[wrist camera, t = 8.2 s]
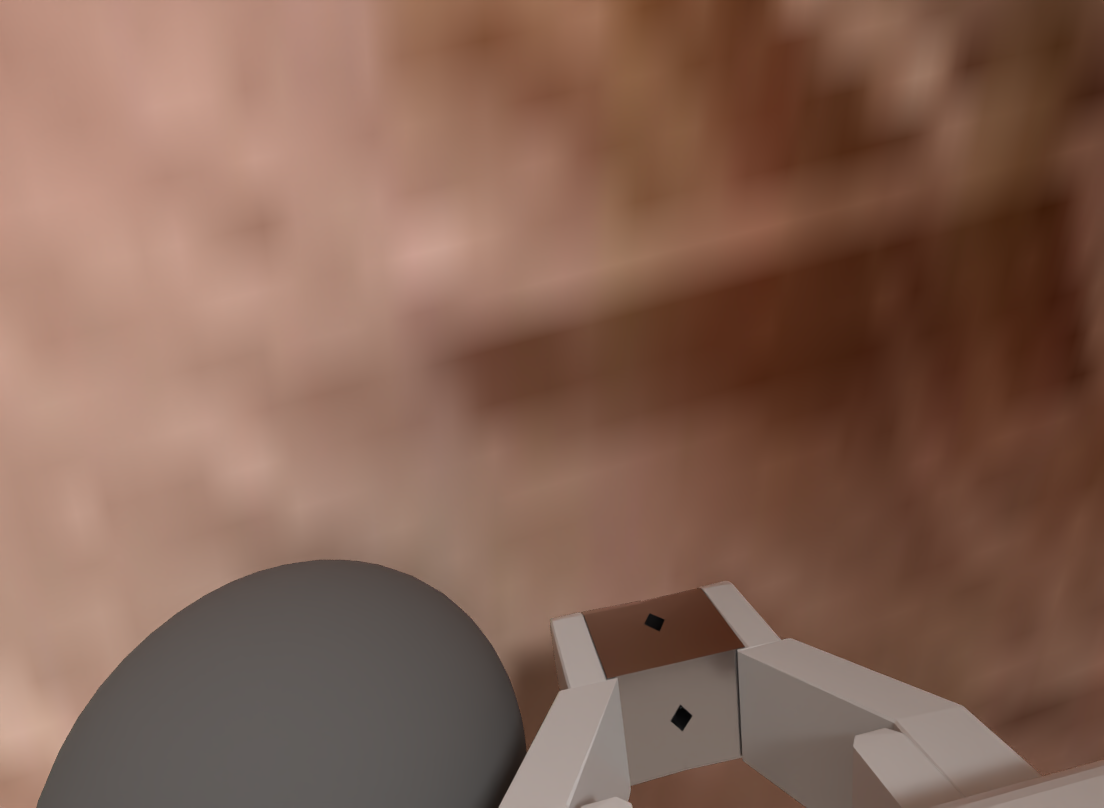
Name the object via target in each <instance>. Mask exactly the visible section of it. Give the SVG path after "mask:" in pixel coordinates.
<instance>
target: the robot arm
mask: <svg viewBox="0 0 1104 808" xmlns="http://www.w3.org/2000/svg"><path fill="white" fill-rule="evenodd" d="M550 630H551V637H552V644H553V651H554V658H555V665H556V672H557V679H558V685H559V690H560V691H559V692H558V694H557V696H556V698H555V700H554V702H553V704H552V706H551V707H550V709H549V711H548V713H547V715H546V717H545V719H544V721H543V723H542V725H541V727H540V729H539V731H538V732H537V734H536V736H535V738H534V740H533V742H532V744H531V746H530V748H529V750H528V752H527V754H526V756H525V758H524V759H523V761H522V763H521V765H520V767H519V769H518V771H517V773H516V775H515V777H514V779H513V781H512V783H511V784H510V786H509V788H508V790H507V792H506V794H505V796H504V798H503V800H502V802H501V804H500V806H499V808H633V807H632V804H631V803H629V802H628V800H629V796H630V792H631V786H632V785H636V784H639V783H642V782H646V781H649V780H653V779H656V778H660V777H663V776H667V775H670V774H674V773H677V772H681V771H684V770H688V769H693V768H697V767H702V766H706V765H711V764H715V763H720V762H724V761H729V760H733V759H738V758H743V761H744V762H745V763H747V764H748V765H749V766H751V767H752V768H753V769H755V770H756V771H757V772H759V773H760V774H761V775H763V776H764V777H766V778H767V779H768V780H770V781H771V782H772V783H774V784H775V785H776V786H778V787H779V788H780V789H782V790H783V791H784V792H786V793H787V794H789V795H790V796H791V797H793V798H794V799H795V800H797V801H798V802H799V803H801V804H802V805H803V806H805V807H806V808H1104V759H1102V760H1099V761H1095V762H1092V763H1088V764H1085V765H1081V766H1077V767H1074V768H1070V769H1067V770H1063V771H1059V772H1056V773H1052V774H1049V775H1045V776H1042V775H1041V774H1040V773H1038V772H1037V771H1036V770H1035V769H1034V768H1033V767H1032V766H1031V765H1029V764H1028V763H1027V762H1026V761H1025V760H1024V759H1023V758H1021V757H1020V756H1019V755H1018V754H1017V753H1016V752H1015V751H1014V750H1012V749H1011V748H1010V747H1009V746H1008V745H1007V744H1006V743H1004V742H1003V741H1002V740H1001V739H1000V738H999V737H998V736H997V735H995V734H994V733H993V732H992V731H991V730H990V729H989V728H988V727H986V726H985V725H984V724H983V723H982V722H981V721H980V720H978V719H977V718H976V717H975V716H974V715H973V714H972V713H971V712H969V711H968V710H967V709H966V708H965V707H964V706H962V705H960V704H957V703H955V702H952V701H949V700H947V699H944V698H942V697H939V696H937V695H934V694H932V693H929V692H927V691H924V690H922V689H919V688H916V687H914V686H911V685H909V684H906V683H904V682H901V681H899V680H896V679H894V678H891V677H888V676H886V675H883V674H881V673H878V672H876V671H873V670H871V669H868V668H866V667H863V666H861V665H858V664H855V663H853V662H850V661H848V660H845V659H843V658H840V657H838V656H835V655H833V654H830V653H828V652H825V651H822V650H820V649H817V648H815V647H812V646H810V645H807V644H805V643H802V642H800V641H797V640H794V639H792V638H787V639H783V640H781V639H780V638H779V637H778V635H777V634H776V633H775V632H774V631H773V630H772V629H771V627H770V626H769V625H768V624H767V623H766V622H765V620H764V619H763V618H762V617H761V616H760V615H759V614H758V612H757V611H756V610H755V609H754V608H753V607H752V606H751V604H750V603H749V602H748V601H747V600H746V599H745V598H744V596H743V595H742V594H741V593H740V592H739V591H738V589H737V588H736V587H735V586H734V585H733V584H732V583H731V582H729V581H722V582H718V583H714V584H710V585H706V586H702V587H698V588H697V589H692V590H688V591H684V592H679V593H675V594H670V595H666V596H662V597H657V598H653V599H649V600H644V601H636V602H630V603H625V604H620V605H615V606H610V607H604V608H599V609H594V610H589V611H583V612H581V613H580V612H578V613H573V614H569V615H564V616H559V617H555V618H550Z"/></svg>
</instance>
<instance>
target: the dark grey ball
mask: <svg viewBox="0 0 1104 808" xmlns="http://www.w3.org/2000/svg"><path fill="white" fill-rule="evenodd" d="M526 754H527V753H526V743H525V734H524V728H523V723H522V718H521V714H520V710H519V707H518V703H517V700H516V696H515V693H514V690H513V687H512V685H511V682H510V679H509V677H508V675H507V673H506V671H505V669H504V667H503V665H502V663H501V661H500V659H499V657H498V655H497V653H496V652H495V650H494V648H493V646H492V645H491V643H490V642H489V641H488V639H487V638H486V637H485V635H484V634H483V633H482V631H481V630H480V629H479V627H478V626H477V625H476V624H475V623H474V621H473V620H472V619H471V618H470V617H469V616H468V615H467V614H466V613H465V612H464V611H463V610H462V609H461V608H460V607H458V606H457V605H456V604H455V603H454V602H453V601H451V600H450V599H449V598H448V597H447V596H445V595H444V594H443V593H441V592H440V591H438V590H436V589H434V588H433V587H431V586H429V585H428V584H426V583H424V582H422V581H420V580H419V579H417V578H415V577H413V576H411V575H408V574H405V573H402V572H399V571H396V570H393V569H390V568H387V567H384V566H381V565H378V564H371V563H365V562H359V561H349V560H315V561H307V562H299V563H292V564H287V565H282V566H278V567H274V568H270V569H266V570H262V571H259V572H256V573H253V574H251V575H248V576H245V577H243V578H240V579H238V580H235V581H232V582H230V583H228V584H226V585H224V586H222V587H220V588H219V589H217V590H215V591H213V592H211V593H209V594H207V595H205V596H203V597H202V598H200V599H199V600H197V601H195V602H194V603H192V604H191V605H189V606H188V607H186V608H184V609H183V610H181V611H180V612H178V613H177V614H175V615H174V616H173V617H172V618H170V619H169V620H168V621H167V622H165V623H164V624H163V625H161V626H160V627H159V628H158V629H156V630H155V631H154V632H152V633H151V634H150V635H149V636H148V637H147V638H146V639H145V640H144V641H143V642H142V643H140V644H139V645H138V646H137V647H136V648H135V649H134V650H133V651H132V652H131V653H130V654H129V655H128V656H127V657H126V658H125V659H124V660H123V661H122V662H121V663H120V664H119V665H118V667H117V668H116V669H115V670H114V671H113V672H112V673H111V675H110V676H109V677H108V678H107V679H106V680H105V682H104V683H103V684H102V685H101V686H100V687H99V689H98V690H97V692H96V693H95V694H94V696H93V697H92V699H91V700H90V701H89V703H88V704H87V706H86V707H85V708H84V710H83V711H82V713H81V714H80V716H79V717H78V719H77V720H76V722H75V724H74V726H73V728H72V729H71V731H70V733H69V735H68V736H67V738H66V740H65V742H64V744H63V745H62V747H61V749H60V751H59V753H58V755H57V758H56V760H55V762H54V764H53V767H52V769H51V772H50V774H49V776H48V779H47V781H46V784H45V786H44V788H43V791H42V793H41V796H40V798H39V800H38V804H37V807H36V808H499V806H500V804H501V802H502V800H503V798H504V796H505V794H506V792H507V790H508V788H509V786H510V784H511V783H512V781H513V779H514V777H515V775H516V773H517V771H518V769H519V767H520V765H521V763H522V761H523V759H524V758H525V756H526Z"/></svg>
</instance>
